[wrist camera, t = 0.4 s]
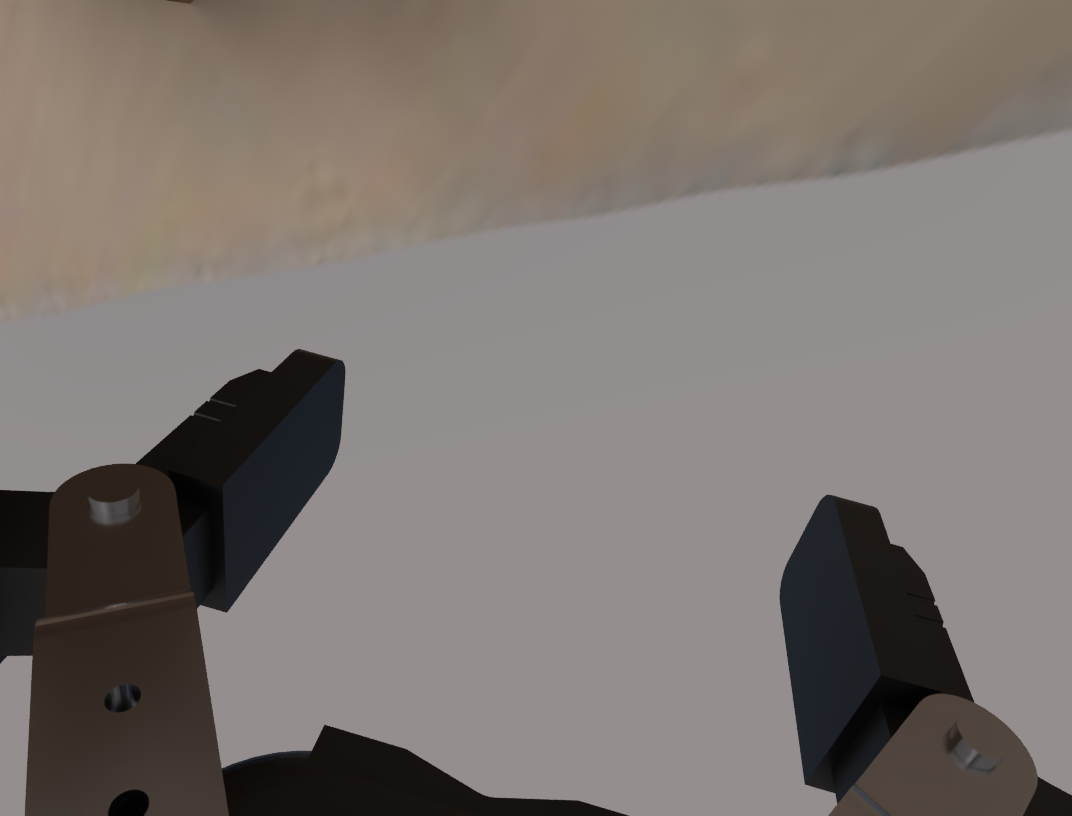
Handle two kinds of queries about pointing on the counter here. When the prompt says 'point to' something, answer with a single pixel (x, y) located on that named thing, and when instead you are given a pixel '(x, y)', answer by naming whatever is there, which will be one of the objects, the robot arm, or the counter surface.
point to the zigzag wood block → (183, 0)
